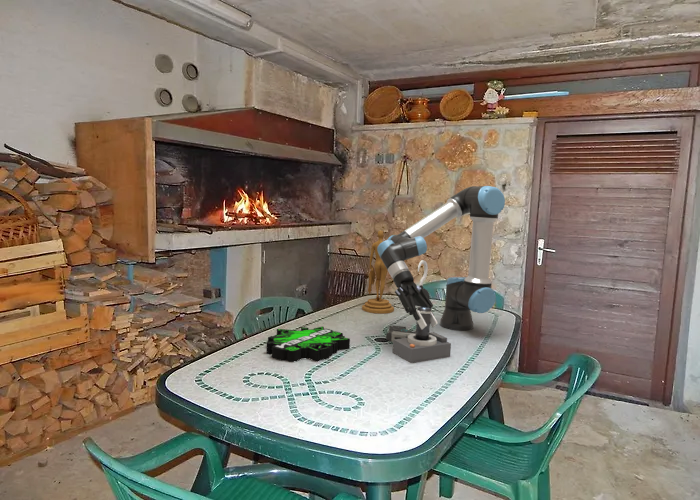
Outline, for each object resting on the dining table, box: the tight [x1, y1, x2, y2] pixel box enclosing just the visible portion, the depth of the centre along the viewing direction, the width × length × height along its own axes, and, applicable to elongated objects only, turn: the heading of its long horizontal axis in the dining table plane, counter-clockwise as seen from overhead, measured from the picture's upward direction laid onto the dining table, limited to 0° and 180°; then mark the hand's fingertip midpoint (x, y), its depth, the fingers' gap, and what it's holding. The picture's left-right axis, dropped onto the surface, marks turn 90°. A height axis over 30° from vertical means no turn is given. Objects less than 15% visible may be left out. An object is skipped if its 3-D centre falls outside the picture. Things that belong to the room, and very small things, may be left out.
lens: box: [415, 307, 433, 341], centre depth 175 cm, size 5×5×12 cm
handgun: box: [385, 325, 416, 343], centre depth 196 cm, size 4×22×15 cm
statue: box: [361, 229, 395, 315], centre depth 242 cm, size 17×17×41 cm
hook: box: [413, 259, 430, 308], centre depth 257 cm, size 11×11×25 cm
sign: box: [265, 326, 351, 363], centre depth 180 cm, size 33×4×30 cm
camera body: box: [392, 331, 452, 364], centre depth 177 cm, size 18×12×7 cm, turn 118°
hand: (429, 326), depth 173 cm, fingers closed on lens, 5 cm apart
